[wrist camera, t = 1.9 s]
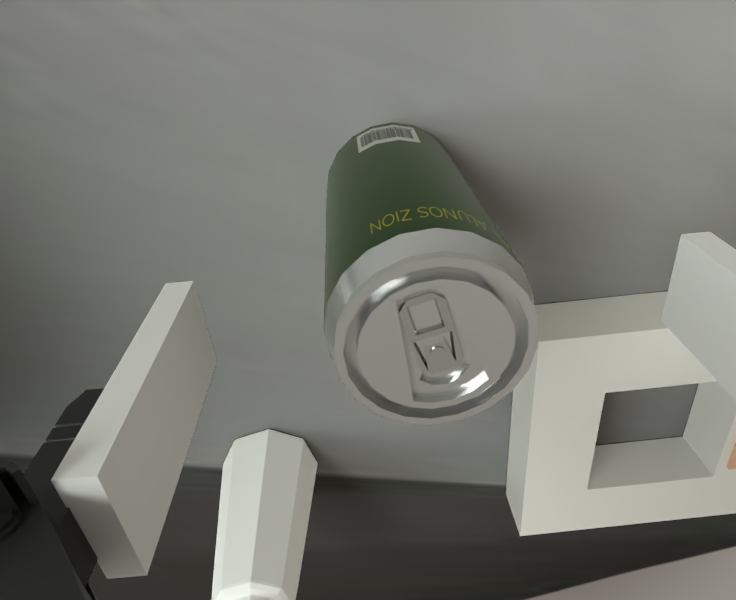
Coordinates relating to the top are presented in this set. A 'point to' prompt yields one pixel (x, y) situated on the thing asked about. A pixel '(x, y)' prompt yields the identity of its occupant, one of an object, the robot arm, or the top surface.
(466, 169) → the top surface
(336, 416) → the top surface
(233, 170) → the top surface
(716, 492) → the socket block
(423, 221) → the beer can
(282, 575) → the salt shaker
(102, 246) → the top surface
